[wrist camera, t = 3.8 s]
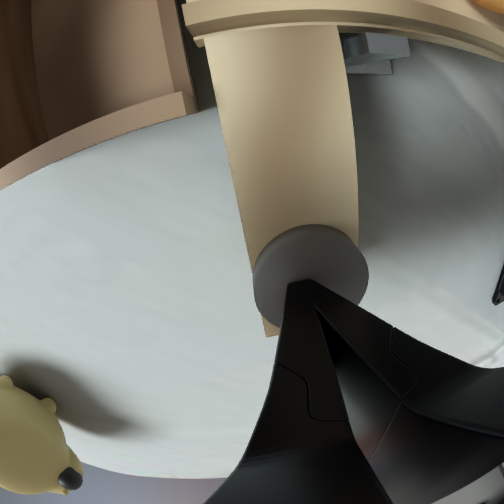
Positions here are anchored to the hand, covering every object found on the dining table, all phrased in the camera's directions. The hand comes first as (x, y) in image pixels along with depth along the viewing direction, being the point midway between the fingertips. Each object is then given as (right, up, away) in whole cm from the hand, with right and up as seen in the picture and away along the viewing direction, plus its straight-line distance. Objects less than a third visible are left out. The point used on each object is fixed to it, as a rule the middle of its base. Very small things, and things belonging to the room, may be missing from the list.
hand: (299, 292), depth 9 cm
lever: (+5, +7, -1) cm, 8 cm away
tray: (-8, +10, -1) cm, 13 cm away
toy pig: (-22, -12, +10) cm, 27 cm away
